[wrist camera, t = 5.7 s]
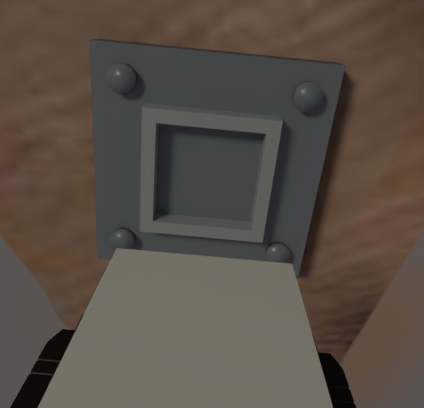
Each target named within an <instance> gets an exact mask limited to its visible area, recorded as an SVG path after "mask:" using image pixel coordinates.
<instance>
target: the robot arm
mask: <svg viewBox="0 0 424 408" xmlns="http://www.w3.org/2000/svg"><path fill="white" fill-rule="evenodd" d="M83 315H84V314H83ZM83 315H82V317H83ZM82 317H81V319H82ZM81 319H80V321H81ZM80 321H79V323H80ZM79 323H78V325H79ZM78 325H77V327H78ZM77 327H76V329H77ZM76 329H75V330H66V329H62V330H61V331H60V332H59V333H58V334H56V335H55V336H54V337H53V338H52V339H51V340H49V341H48V342H47V344H46V345H45V347H44V349H43V351H42V352H41V354H40V356H39V358H38V361H36V363H35V365H34V367H33V369H32V370H31V374H30V375H28V377H27V379H26V381H25V382H24V384H23V386H22V388H21V390H20V392H19V393H18V395H17V397H16V399H15V400H14V402H13V404H12V406H11V407H10V408H38V406H39V404H40V402H41V400H42V398H43V396H44V394H45V392H46V390H47V388H48V386H49V384H50V382H51V380H52V378H53V376H54V374H55V372H56V370H57V368H58V366H59V364H60V362H61V360H62V358H63V356H64V354H65V352H66V349H67V347H68V345H69V343H70V341H71V339H72V337H73V335H74V333H75V331H76ZM312 336H313V334H312ZM313 339H314V337H313ZM314 343H315V340H314ZM315 346H316V343H315ZM316 350H317V347H316ZM317 353H318V350H317ZM318 357H319V360H320V364H321V367H322V371H323V374H324V378H325V381H326V385H327V388H328V392H329V395H330V399H331V402H332V406H333V408H356V406H355V404H354V400H353V397H352V394H351V391H350V390H349V385H348V383H347V380H346V377H345V374H344V371H343V369H342V367H341V366H340V365H339V364H338V362H337V361H336V360H335V359H334V358H333V356H332V355H331V354H328V353H318Z"/></svg>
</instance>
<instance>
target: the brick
mask: <svg viewBox="0 0 424 408" xmlns="http://www.w3.org/2000/svg"><path fill="white" fill-rule="evenodd" d="M38 408H333V406H332V402H331V399H330V395H329V392H328V388H327V385H326V381H325V378H324V374H323V371H322V367H321V364H320V360H319V357H318V353H317V350H316V346H315V343H314V339H313V336H312V332H311V329H310V325H309V322H308V318H307V315H306V311H305V308H304V304H303V301H302V297H301V293H300V290H299V286H298V283H297V279H296V276H295V272H294V269H293V265H292V264H290V263H279V262H267V261H256V260H245V259H234V258H223V257H212V256H200V255H189V254H178V253H167V252H156V251H145V250H133V249H122V248H116V251H115V253H114V255H113V257H112V259H111V261H110V263H109V265H108V267H107V269H106V271H105V273H104V275H103V277H102V279H101V281H100V283H99V285H98V287H97V289H96V291H95V293H94V295H93V297H92V299H91V301H90V303H89V305H88V307H87V309H86V311H85V313H84V315H83V317H82V319H81V321H80V323H79V325H78V327H77V329H76V331H75V333H74V335H73V337H72V339H71V341H70V343H69V345H68V347H67V349H66V352H65V354H64V356H63V358H62V360H61V362H60V364H59V366H58V368H57V370H56V372H55V374H54V376H53V378H52V380H51V382H50V384H49V386H48V388H47V390H46V392H45V394H44V396H43V398H42V400H41V402H40V404H39V406H38Z"/></svg>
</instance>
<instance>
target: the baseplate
mask: <svg viewBox="0 0 424 408" xmlns="http://www.w3.org/2000/svg"><path fill="white" fill-rule="evenodd" d="M90 58H91V85H92V113H93V140H94V167H95V194H96V222H97V249H98V258H104V259H112V257H113V255H114V253H115V251H116V248H122V249H133V250H145V251H156V252H167V253H178V254H189V255H200V256H212V257H223V258H234V259H245V260H256V261H267V262H279V263H290V264H292V265H293V269H294V272H295V276H299V272H300V268H301V263H302V259H303V254H304V250H305V245H306V241H307V236H308V232H309V227H310V223H311V218H312V214H313V209H314V205H315V200H316V196H317V191H318V187H319V182H320V178H321V173H322V169H323V164H324V160H325V155H326V151H327V146H328V142H329V137H330V133H331V128H332V124H333V119H334V115H335V110H336V106H337V101H338V97H339V92H340V88H341V83H342V79H343V74H344V70H345V65H343V64H340V63H335V62H325V61H315V60H305V59H295V58H285V57H275V56H265V55H255V54H245V53H235V52H225V51H215V50H205V49H195V48H185V47H175V46H165V45H155V44H145V43H135V42H125V41H115V40H105V39H93V40H90Z"/></svg>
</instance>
